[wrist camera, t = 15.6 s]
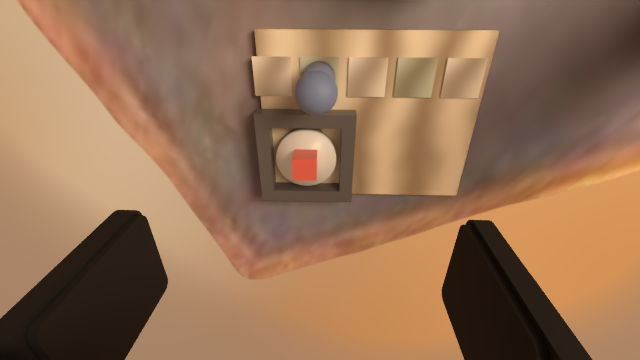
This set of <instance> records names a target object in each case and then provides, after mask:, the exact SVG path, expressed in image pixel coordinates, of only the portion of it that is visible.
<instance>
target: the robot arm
mask: <svg viewBox="0 0 640 360" xmlns="http://www.w3.org/2000/svg"><path fill="white" fill-rule="evenodd" d="M167 284H168V278H167V275H166V272H165V270H164V267H163V264H162V261H161V258H160V255H159V252H158V249H157V246H156V243H155V240H154V238H153V235H152V232H151V229H150V226H149V223H148V220H147V218H146V217H145V216H143V215H142V214H141V213H140V212H139V211H136V210H117V211H115V212H113V213H112V214H111V215H110V216H109V217H108V218H107V219H106V220H105V221H104V222H103V223H102V224H100V225H99V226H98V227H97V228H96V229H95V230H94V231H93V232H92V233H91V234H90V235H89V236H88V237H87V238H86V239H84V241H82V242H81V244H79V245H78V246H77V247H76V248H75V249H74V250H73V251H72V252H71V253H70V254H69V255H67V256H66V257H65V258H64V259H63V260H62V261H61V262H60V263H59V264H58V265H57V266H56V267H55V268H54V269H53V270H52V271H50V272H49V273H48V274H47V275H46V276H45V277H44V278H43V279H42V280H41V281H40V282H39V283H38V284H37V285H36V286H35V287H34V288H33V289H31V290H30V291H29V292H28V293H27V294H26V295H25V296H24V297H23V298H22V299H21V300H20V301H19V302H18V303H17V304H16V305H15V306H13V307H12V308H11V309H10V310H9V311H8V312H7V313H6V314H5V315H4V316H3V317H2V318H1V319H0V360H125V358H126V356H127V355H128V353H129V351H130V349H131V348H132V346H133V344H134V343H135V341H136V339H137V338H138V336H139V334H140V332H141V331H142V329H143V328H144V326H145V324H146V323H147V321H148V319H149V317H150V316H151V314H152V312H153V311H154V309H155V307H156V306H157V304H158V302H159V300H160V299H161V297H162V295H163V294H164V292H165V290H166V288H167ZM442 298H443V302H444V304H445V307H446V310H447V313H448V316H449V318H450V321H451V324H452V327H453V329H454V332H455V335H456V338H457V340H458V343H459V346H460V349H461V351H462V354H463V357H464V359H465V360H592V359H591V357H590V356H589V355H588V353H587V352H586V350H585V349H584V348H583V346H582V345H581V343H580V342H579V341H578V339H577V338H576V336H575V335H574V334H573V332H572V331H571V329H570V328H569V327H568V325H567V324H566V323H565V321H564V320H563V318H562V317H561V316H560V314H559V313H558V312H557V310H556V309H555V307H554V306H553V304H552V303H551V302H550V300H549V299H548V298H547V296H546V295H545V293H544V292H543V291H542V289H541V288H540V286H539V285H538V284H537V282H536V281H535V280H534V278H533V277H532V276H531V274H530V273H529V272H528V271H527V269H526V268H525V266H524V265H523V264H522V262H521V261H520V259H519V258H518V257H517V255H516V254H515V252H514V251H513V250H512V248H511V247H510V245H509V244H508V243H507V241H506V240H505V239H504V237H503V236H502V234H501V233H500V232H499V230H498V229H497V227H496V226H495V225H494V223H493V222H492V221H489V220H468V221H467V223H466V225H462V226H461V227H460V229H459V232H458V235H457V239H456V243H455V246H454V250H453V253H452V256H451V259H450V263H449V267H448V270H447V273H446V277H445V280H444V283H443V287H442Z"/></svg>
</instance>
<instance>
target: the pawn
mask: <svg viewBox="0 0 640 360" xmlns="http://www.w3.org/2000/svg"><path fill="white" fill-rule="evenodd" d="M337 96H338V89H337V85H336V83H335V72H334V70H333V68H332V67H331V66H330V65H329V64H328V63H326V62H324V61H314V62H312V63H310V64H309V65H308V66H307V67H306V69H305V71H304V73H303V75H302V76H301V77H300V78H299V80H298V81H297V83H296V86H295V99H296V102H297V104H298V106H299V107H300V108H301V109H302V110H303V111H304V112H306V113H308V114H311V115H321V114H324V113H326V112H328V111H329V110H330V109H332V107H333V106H334V105H335V103H336V100H337Z"/></svg>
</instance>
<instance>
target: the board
mask: <svg viewBox="0 0 640 360" xmlns="http://www.w3.org/2000/svg"><path fill="white" fill-rule="evenodd" d="M254 32H255V42H256V53H257V56H252V66H253V76H254V86H255V96H260V97H261V107H262V109H301V108H300V107H299V106H298V104H297V102H296V99H295V86H296V83H297V81H298V80H299V78H300V77H301V76H302V75H303V73H304V71H305V69H306V67H307V66H308V65H309V64H310V63H312V62H314V61H324V62H326V63H328V64H329V65H330V66H331V67H332V68H333V70H334V72H335V83H336V85H337V89H338V96H337V100H336V103H335V105H334V106H333V107H332V109H330V110H356V114H357V121H356V136H355V152H354V167H353V182H352V194H401V195H454V196H456V194H457V190H458V186H459V182H460V179H461V175H462V171H463V167H464V163H465V160H466V156H467V152H468V148H469V145H470V141H471V137H472V133H473V129H474V126H475V122H476V118H477V114H478V111H479V107H480V103H481V99H482V95H483V92H484V88H485V84H486V80H487V77H488V73H489V69H490V65H491V61H492V58H493V54H494V50H495V46H496V43H497V39H498V35H499V31H497V30H367V29H254ZM294 129H296V128H272V135H273V147H274V160H275V173H276V182H291V181H289V180H288V179H287V178H285V177H284V176H283V174H282V173H281V172H280V170H279V168H278V166H277V162H276V153H277V149H278V146H279V144H280V142H281V140H282V138H283V137H284V136H285V135H286V134H287V133H288V132H290V131H291V130H294ZM316 129H319V130H321V131H322V132H324V133H325V134H327V135H328V136H329V137H330V139H331V140H332V141H333V143H334V146H335V149H336V165H335V168H334V171H333V172H332V174H331V175H330V176H329V177H328V178H327V179H326V180H325V181H323V182H321V183H339V173H340V148H341V129H320V128H316Z"/></svg>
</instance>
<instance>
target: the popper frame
mask: <svg viewBox="0 0 640 360" xmlns="http://www.w3.org/2000/svg"><path fill="white" fill-rule="evenodd" d="M253 116H254V126H255V135H256V144H257V154H258V163H259V172H260V182H261V191H262V200H265V201H316V202H351V198H352V182H353V167H354V152H355V136H356V121H357V114H356V110H329V111H328V112H326V113H324V114H321V115H311V114H308V113H306V112H304V111H303V110H302V109H257V110H256V111H255V112H254V114H253ZM272 128H320V129H341V148H340V173H339V183H319V184H316V185H311V186H304V185H299V184H295V183H293V182H276V173H275V160H274V147H273V135H272Z"/></svg>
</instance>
